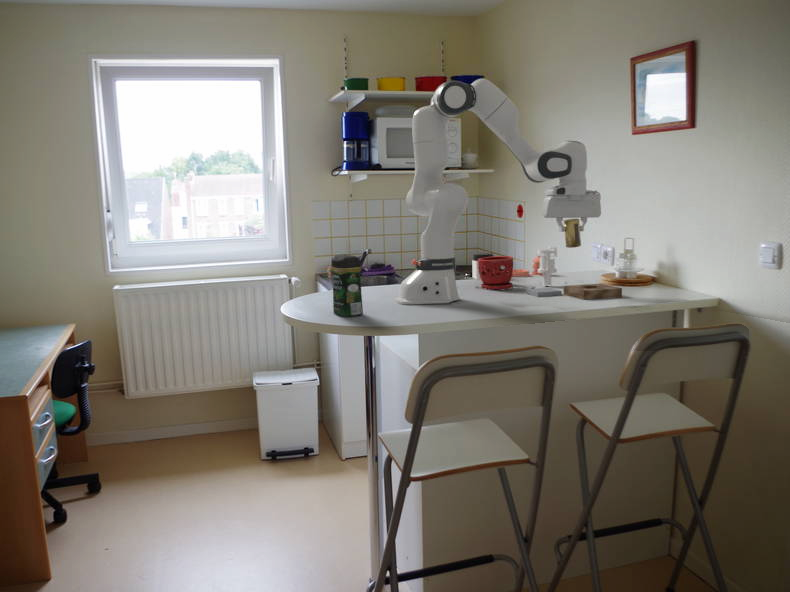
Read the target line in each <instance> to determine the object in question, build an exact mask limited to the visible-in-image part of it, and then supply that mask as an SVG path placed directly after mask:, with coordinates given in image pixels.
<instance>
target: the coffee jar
mask: <svg viewBox="0 0 790 592" xmlns="http://www.w3.org/2000/svg"><path fill="white" fill-rule="evenodd" d="M330 266H331V276H332V297H333V298H332V299H333V300H332V303H333V305H332V306H333V310H332V311H333V313H334V315H336V316H338V317H341V318H354V316H356V317H358V316H362V315H363V314H364V313H363V312H364V311H363V309H364V307H363V295H362V283H361V282H362V281H361V280H362V279H361V278H362V277H361V275H362V274H361V273H362V272H361V271H362V263H361V258H360V257H358V256H354V255H350V254H338V255H337V254H336V255H334V256H333V257H332V258H331V265H330Z"/></svg>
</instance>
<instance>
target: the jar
mask: <svg viewBox="0 0 790 592" xmlns="http://www.w3.org/2000/svg"><path fill="white" fill-rule="evenodd" d="M485 257H495V256H494V253H491V252H480V253H478V252H477V253H473V254H472V261H471V262H472V263H471V266H472V268H471V269H472V270H471V271H472V274H471V275H472V279H474V280H481V278H480V275H479V269H478V259H480V258H485ZM484 268H485V267H484Z"/></svg>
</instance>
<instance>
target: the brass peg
mask: <svg viewBox="0 0 790 592" xmlns="http://www.w3.org/2000/svg"><path fill="white" fill-rule="evenodd" d="M563 226H566V228H565V231H564V238H565V247H566V248H567V249H568V248H572V249H573V248H578V247H581V246H582V241H581V238H582V237H581V231H580V218H566V219H563Z"/></svg>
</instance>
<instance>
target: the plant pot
mask: <svg viewBox="0 0 790 592" xmlns="http://www.w3.org/2000/svg"><path fill="white" fill-rule="evenodd" d="M484 267H485V268H484ZM501 267H504V268H503V269H502V268H501ZM478 269H479V275H480V278H481V279H480V280H481V282H482V284H480V285H481V288H482V287H483V288H482V289H484V288H486V289H485V290H488V289H506V290H509V289H511V288H512V287H513V283H512V282H511V280H512V278H513V277H512V274H513V269H514V257H513V256H506V255H504V256H503V255H499V256H498V255H497V256H494V257H485V258H480V259H478ZM507 271H508V272H507ZM508 288H509V289H508Z"/></svg>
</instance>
